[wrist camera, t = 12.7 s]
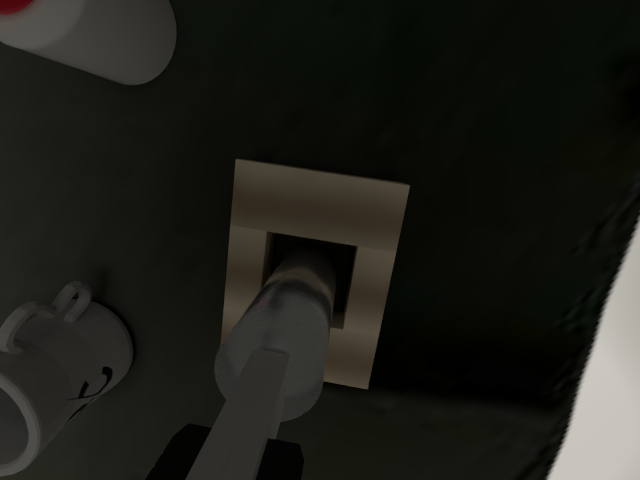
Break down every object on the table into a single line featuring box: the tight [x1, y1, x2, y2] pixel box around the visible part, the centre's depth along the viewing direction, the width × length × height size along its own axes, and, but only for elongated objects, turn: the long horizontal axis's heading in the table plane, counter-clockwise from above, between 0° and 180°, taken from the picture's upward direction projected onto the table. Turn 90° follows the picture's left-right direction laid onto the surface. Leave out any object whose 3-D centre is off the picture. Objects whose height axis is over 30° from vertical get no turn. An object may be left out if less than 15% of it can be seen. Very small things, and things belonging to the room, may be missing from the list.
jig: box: [221, 159, 410, 389], centre depth 26 cm, size 16×12×3 cm
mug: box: [0, 281, 133, 476], centre depth 26 cm, size 12×9×10 cm
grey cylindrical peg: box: [215, 242, 338, 422], centre depth 20 cm, size 5×5×14 cm
